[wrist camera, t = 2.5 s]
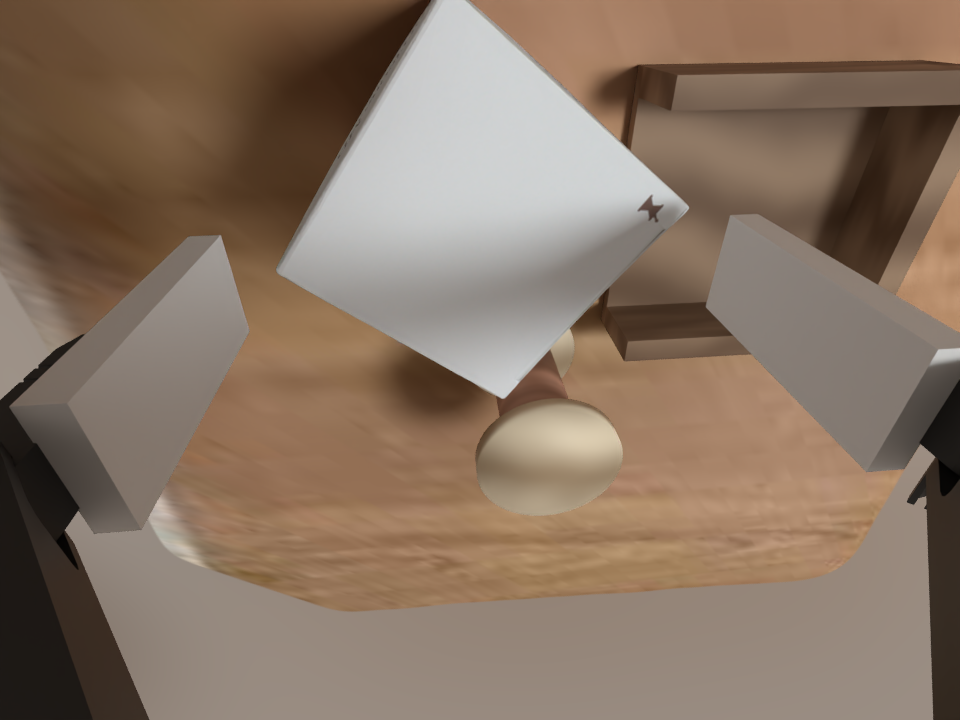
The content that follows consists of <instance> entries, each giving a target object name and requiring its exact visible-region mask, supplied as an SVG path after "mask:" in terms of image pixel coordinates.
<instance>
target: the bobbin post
mask: <svg viewBox="0 0 960 720" xmlns="http://www.w3.org/2000/svg"><path fill="white" fill-rule="evenodd" d="M574 347H575V346H574V339H573V335H572V333H571V330H570V328H569V329H568V330H567V331H566V333H565V334H564V335H563V336H562V337H561V338H560V339H559V340H558V341H557V342H556V343H555V344H554V345H553V346H552V347H551V348H550V350H549V351H548V352H547V353H546V354H545V355H544V356H543V357H542V358H541V359H540V360H539V362H538V363H537V364H536V365H535V366H534V367H533V368H532V369H531V370H530V371H529V372H528V374H527V375H526V376H525V377H524V378H523V379H522V380H521V381H520V382H519V383H518V385H517V386H516V387H515V388H514V389H513V390H512V391H511V392H510V393H509V395H508V396H507V397H506V398H504V399H501V398H500V397H498V396H496V395H495V396H496V398H497V404H498V410H499V415H500V417H499V418H498V419H497V420H495V421H494V422H493V423H492V424H491V425H490V426H489V427H488V429H487V430H486V431H485V432H484V434H483V435H482V437H481V439H480V441H479V443H478V446H477V450H476V457H475V461H476V470H477V479H478V482H479V486H480V488H481V489H482V491H483V493H484V494H485V495H486V497H487V498H488V499H490V500H491V501H492V502H493V503H494V504H496V505H497V506H499V507H501V508H503V509H505V510H508V511H511V512H514V513H518V514H523V515H533V516H542V515H553V514H558V513H563V512H566V511H570V510H573V509H575V508H578V507H580V506H582V505H584V504H586V503H588V502H590V501H592V500H593V499H595V498H596V497H598V496H599V495H600V494H602V493H603V492H604V491H605V490H606V489H607V488H608V487H609V486H610V485H611V483H612V482H613V481H614V479H615V478H616V476H617V474H618V472H619V470H620V467H621V464H622V459H623V450H622V445H621V442H620V440H619V437H618V435H617V433H616V431H615V428H614V426H613V424H612V423H611V421H610V420H609V418H608V417H607V416H606V415H605V414H604V413H603V412H601V411H600V410H598V409H597V408H595V407H593V406H591V405H589V404H587V403H584V402H581V401H577V400H572V399H568V396H567V393H566V391H565V388H564V385H563V382H562V380H561V378H562V377H563V376H564V375H565V373H566V372H567V370H568V369H569V367H570V365H571V363H572V360H573V356H574ZM477 386H478V385H477ZM479 387H480V386H479ZM480 388H481V389H483V390H484V391H486V392H488V393H490V394H492V395H494V394H493V393H491V392H489V391H487V390H485V389H484V388H482V387H480Z"/></svg>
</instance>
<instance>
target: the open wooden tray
mask: <svg viewBox="0 0 960 720" xmlns="http://www.w3.org/2000/svg"><path fill="white" fill-rule="evenodd" d="M626 147H627V148H628V149H629V150H630V151H631V152H632V153H633V154H634V155H635V156H636V157H638V158H639V159H640V160H641V161H642V162H643V163H644V164H645V165H646V166H647V167H648V168H649V169H650V170H651V171H652V172H653V173H654V174H655V175H656V176H658V177H659V178H660V179H661V180H662V181H663V182H664V183H665V184H666V185H667V186H668V187H669V188H670V189H671V190H673V191H674V192H675V193H676V194H677V195H678V196H679V197H680V198H681V199H682V200H683V201H684V202H685V203H686V204H687V205H688V206H689V209H688V211H687V212H686V213H685V214H684V215H683V216H682V217H681V218H680V219H679V220H678V221H676V222H675V223H674V224H673V225H672V226H671V227H670V228H669V229H668V230H667V231H666V232H665V233H663V234H662V235H661V236H660V237H659V238H658V239H657V240H656V241H655V242H654V243H653V244H652V245H651V246H650V247H649V248H648V249H647V250H646V251H645V252H644V253H643V254H642V255H641V256H640V257H639V258H638V259H637V260H636V261H635V262H634V263H633V264H632V265H631V266H630V267H629V268H628V269H627V270H626V271H625V272H624V273H623V274H622V275H621V276H620V277H619V278H618V279H617V280H616V281H615V282H614V283H613V284H612V285H611V286H610V287H609V288H608V289H607V290H606V291H605V296H604V302H603V309H602V316H601V321H602V323H603V324H604V326H605V328H606V330H607V331H608V333H609V335H610V337H611V339H612V340H613V342H614V344H615V346H616V347H617V349H618V351H619V353H620V355H621V356H622V358H623V360H624V361H640V360H658V359H676V358H693V357H711V356H729V355H747V354H751V353H750V352H749V351H748V350H747V349H746V348H745V347H744V346H743V345H742V344H741V343H740V342H739V341H738V340H737V339H736V338H735V337H734V336H733V335H732V334H731V333H730V332H729V331H728V329H727V328H726V327H725V326H724V325H723V324H722V323H721V322H720V321H719V320H718V319H717V318H716V317H715V316H714V315H713V314H712V313H711V312H710V311H709V310H708V309H707V308H706V303H707V300H708V296H709V292H710V289H711V285H712V281H713V277H714V274H715V270H716V266H717V263H718V259H719V255H720V251H721V248H722V244H723V240H724V237H725V233H726V229H727V226H728V222H729V218H730V215H745V214H759V215H760V216H762V217H764V218H765V219H767V220H769V221H771V222H772V223H774V224H776V225H777V226H779V227H781V228H782V229H784V230H786V231H787V232H789V233H791V234H793V235H794V236H796V237H798V238H799V239H801V240H803V241H804V242H806V243H808V244H810V245H811V246H813V247H815V248H816V249H818V250H820V251H821V252H823V253H825V254H826V255H828V256H830V257H832V258H833V259H835V260H837V261H838V262H840V263H842V264H843V265H845V266H847V267H848V268H850V269H852V270H854V271H855V272H857V273H859V274H860V275H862V276H864V277H865V278H867V279H869V280H871V281H872V282H874V283H876V284H877V285H879V286H881V287H882V288H884V289H886V290H887V291H889V292H891V293H893V294H894V295H896V293H897V291H898V289H899V287H900V285H901V283H902V282H903V280H904V278H905V276H906V274H907V272H908V270H909V268H910V266H911V264H912V262H913V260H914V258H915V256H916V254H917V252H918V250H919V248H920V246H921V244H922V242H923V240H924V238H925V236H926V234H927V232H928V230H929V228H930V226H931V224H932V222H933V220H934V218H935V216H936V214H937V212H938V210H939V209H940V207H941V205H942V203H943V201H944V199H945V197H946V195H947V193H948V191H949V189H950V187H951V185H952V183H953V181H954V179H955V177H956V175H957V173H958V171H959V169H960V64H952V63H943V62H933V61H924V60H912V61H848V62H785V63H721V64H657V65H638V71H637V78H636V85H635V91H634V98H633V105H632V112H631V119H630V125H629V132H628V139H627V146H626Z"/></svg>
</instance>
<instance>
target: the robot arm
mask: <svg viewBox="0 0 960 720" xmlns="http://www.w3.org/2000/svg"><path fill="white" fill-rule="evenodd" d="M706 308H707V309H708V310H709V311H710V312H711V313H712V314H713V315H714V316H715V317H716V318H717V319H718V320H719V321H720V322H721V323H722V324H723V325H724V326H725V327H726V328H727V329H728V331H729V332H730V333H731V334H732V335H733V336H734V337H735V338H736V339H737V340H738V341H739V342H740V343H741V344H742V345H743V346H744V347H745V348H746V349H747V350H748V351H749V352H750V353H751V354H752V355H753V356H754V357H755V358H756V359H757V360H758V361H759V362H760V363H761V364H762V365H763V366H764V367H765V368H766V370H767V371H768V372H769V373H770V374H771V375H772V376H773V377H774V378H775V379H776V380H777V381H778V382H779V383H780V384H781V385H782V386H783V387H784V388H785V389H786V390H787V391H788V392H789V393H790V394H791V395H792V396H793V397H794V398H795V399H796V400H797V401H798V402H799V403H800V404H801V405H802V406H803V407H804V409H805V410H806V411H807V412H808V413H809V414H810V415H811V416H812V417H813V418H814V419H815V420H816V421H817V422H818V423H819V424H820V425H821V426H822V427H823V428H824V429H825V430H826V431H827V432H828V433H829V434H830V435H831V436H832V437H833V438H834V439H835V440H836V441H837V442H838V443H839V444H840V445H841V446H842V447H843V449H844V450H845V451H846V452H847V453H848V454H849V455H850V456H851V457H852V458H853V459H854V460H855V461H856V462H857V463H858V464H859V465H860V466H861V467H862V468H863V469H864V470H865V471H866V472H873V471H886V470H898V469H905V467H906V466H907V464H908V462H909V461H910V459H911V458H912V456H913V455H914V453H915V452H916V450H917V448H918V447H919V445H920V444H921V445H922V446H924V447H925V448H926V449H927V450H928V451H929V452H931V453H932V454H933V455H934V456H935V459H934V461H933V462H932V463H931V465H930V466H929V468H928V469H927V471H926V472H925V473H924V475H923V477H922V478H921V479H920V481H919V483H918V484H917V486H916V487H915V488H914V490H913V491H912V493H911V494H910V496H909V498H908V500H907V502H908V503H910V504H915V502H916V501H917V499H918V498H921V497H925V496H926V498H927V505H926V506H925V508H924V509H927V530H928V563H929V591H930V592H929V595H930V626H931V658H932V690H933V720H960V333H959V332H957V331H955V330H954V329H952V328H950V327H948V326H947V325H945V324H943V323H942V322H940V321H938V320H937V319H935V318H933V317H932V316H930V315H928V314H926V313H925V312H923V311H921V310H920V309H918V308H916V307H915V306H913V305H911V304H910V303H908V302H906V301H904V300H903V299H901V298H899V297H898V296H896V295H894V294H893V293H891V292H889V291H887V290H886V289H884V288H882V287H881V286H879V285H877V284H876V283H874V282H872V281H871V280H869V279H867V278H865V277H864V276H862V275H860V274H859V273H857V272H855V271H854V270H852V269H850V268H848V267H847V266H845V265H843V264H842V263H840V262H838V261H837V260H835V259H833V258H832V257H830V256H828V255H826V254H825V253H823V252H821V251H820V250H818V249H816V248H815V247H813V246H811V245H810V244H808V243H806V242H804V241H803V240H801V239H799V238H798V237H796V236H794V235H793V234H791V233H789V232H787V231H786V230H784V229H782V228H781V227H779V226H777V225H776V224H774V223H772V222H771V221H769V220H767V219H765V218H764V217H762V216H760V215H759V214H745V215H730V218H729V222H728V226H727V229H726V233H725V237H724V240H723V244H722V248H721V251H720V255H719V259H718V263H717V266H716V270H715V274H714V277H713V281H712V285H711V289H710V292H709V296H708V300H707V303H706ZM248 333H249V327H248V324H247V321H246V317H245V314H244V311H243V307H242V304H241V301H240V297H239V294H238V291H237V287H236V284H235V281H234V277H233V274H232V271H231V267H230V264H229V261H228V257H227V254H226V251H225V247H224V244H223V241H222V238H221V235H211V236H188V237H187V238H186V239H185V240H184V241H183V242H182V243H181V244H180V245H179V246H178V247H177V248H176V249H175V250H174V251H173V252H172V253H171V254H169V255H168V256H167V257H166V258H165V259H164V260H163V261H162V262H161V263H160V264H159V265H158V266H157V267H156V268H155V269H154V270H153V271H152V272H151V273H149V274H148V275H147V276H146V277H145V278H144V279H143V280H142V281H141V282H140V283H139V284H138V285H137V286H136V287H135V288H134V289H133V290H132V291H130V292H129V293H128V294H127V295H126V296H125V297H124V298H123V299H122V300H121V301H120V302H119V303H118V304H117V305H116V306H115V307H114V308H113V309H111V310H110V311H109V312H108V313H107V314H106V315H105V316H104V317H103V318H102V319H101V320H100V321H99V322H98V323H97V324H96V325H95V326H94V327H93V328H91V329H90V330H89V331H88V332H87V333H86V334H83V335H81V336H79V337H77V338H75V339H73V340H72V341H70V342H68V343H66V344H64V345H63V346H61V347H59V348H57V349H56V350H55V351H53V352H52V353H51V354H50V355H49V356H48V357H47V358H46V359H45V360H44V361H43V362H42V363H40V364H39V368H38V369H34V370H33V371H32V372H30V373H29V374H28V375H27V376H26V377H25V378H24V382H21V383H19V384H18V385H16V386H15V387H14V388H13V389H12V390H11V391H10V392H9V393H8V394H6V395H5V396H4V397H3V398H2V399H1V400H0V720H149V718H148V716H147V713H146V711H145V709H144V707H143V704H142V702H141V699H140V697H139V694H138V692H137V690H136V688H135V685H134V683H133V681H132V678H131V676H130V673H129V671H128V669H127V666H126V664H125V662H124V659H123V657H122V655H121V652H120V650H119V648H118V645H117V643H116V641H115V638H114V636H113V633H112V631H111V629H110V626H109V624H108V622H107V619H106V617H105V615H104V613H103V610H102V608H101V605H100V603H99V601H98V598H97V596H96V594H95V591H94V589H93V587H92V584H91V582H90V580H89V577H88V575H87V573H86V570H85V568H84V566H83V563H82V561H81V558H80V556H79V554H78V551H77V549H76V547H75V544H74V543H73V541H72V540H71V539H70V537H69V536H68V534H67V533H66V531H65V529H66V527H67V526H68V525H69V523H70V522H71V520H72V519H73V517H74V516H75V514H76V513H77V511H79V512H80V514H81V515H82V516H83V518H84V519H85V521H86V522H87V524H88V525H89V527H90V528H91V530H92V531H93V533H94V534H97V533H110V532H122V531H134V530H142V528H143V526H144V524H145V522H146V521H147V519H148V517H149V515H150V513H151V511H152V510H153V508H154V506H155V504H156V502H157V500H158V499H159V497H160V495H161V493H162V491H163V489H164V488H165V486H166V484H167V482H168V480H169V478H170V477H171V475H172V473H173V471H174V469H175V467H176V466H177V464H178V462H179V460H180V458H181V456H182V455H183V453H184V451H185V449H186V447H187V445H188V443H189V442H190V440H191V438H192V436H193V434H194V432H195V431H196V429H197V427H198V425H199V423H200V421H201V420H202V418H203V416H204V414H205V412H206V410H207V409H208V407H209V405H210V403H211V401H212V399H213V398H214V396H215V394H216V392H217V390H218V388H219V387H220V385H221V383H222V381H223V379H224V377H225V376H226V374H227V372H228V370H229V368H230V366H231V365H232V363H233V361H234V359H235V357H236V355H237V353H238V352H239V350H240V348H241V346H242V344H243V342H244V341H245V339H246V337H247V335H248Z"/></svg>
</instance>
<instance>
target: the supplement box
mask: <svg viewBox="0 0 960 720" xmlns="http://www.w3.org/2000/svg"><path fill="white" fill-rule="evenodd" d="M688 209H689V206H688V205H687V204H686V203H685V202H684V201H683V200H682V199H681V198H680V197H679V196H678V195H677V194H676V193H675V192H674V191H673V190H671V189H670V188H669V187H668V186H667V185H666V184H665V183H664V182H663V181H662V180H661V179H660V178H659V177H658V176H656V175H655V174H654V173H653V172H652V171H651V170H650V169H649V168H648V167H647V166H646V165H645V164H644V163H643V162H642V161H641V160H640V159H639V158H638V157H636V156H635V155H634V154H633V153H632V152H631V151H630V150H629V149H628V148H627V147H626V146H625V145H624V144H623V143H622V142H620V141H619V140H618V139H617V138H616V137H615V136H614V135H613V134H612V133H611V132H610V131H609V130H608V129H607V128H606V127H605V126H604V125H603V124H602V123H601V122H600V121H599V120H598V119H596V118H595V117H594V116H593V115H592V114H591V113H590V112H589V111H588V110H587V109H586V108H585V107H584V106H583V105H582V104H581V103H580V102H579V101H578V100H577V99H576V98H575V97H574V96H573V95H572V94H571V93H570V92H569V91H568V90H567V89H566V88H565V87H564V86H563V85H562V84H561V83H560V82H558V81H557V80H556V79H555V78H554V77H553V76H552V75H551V74H550V73H549V72H548V71H547V70H546V69H545V68H543V67H542V66H541V65H540V64H539V63H538V62H537V61H536V60H535V59H534V58H533V57H532V56H531V55H530V54H528V53H527V52H526V51H525V50H524V49H523V48H522V47H521V46H520V45H519V44H518V43H517V42H516V41H515V40H513V39H512V38H511V37H510V36H509V35H508V34H507V33H506V32H505V31H503V30H502V29H501V28H500V27H499V26H498V25H497V24H495V23H494V22H493V21H492V20H491V19H490V18H489V17H487V16H486V15H485V14H484V13H483V12H482V11H481V10H479V9H478V8H477V7H476V6H475V5H474V4H473V3H471V2H470V1H469V0H431V1H430V3H429V4H428V6H427V7H426V9H425V10H424V12H423V13H422V15H421V16H420V18H419V19H418V20H417V22H416V23H415V25H414V26H413V28H412V29H411V31H410V33H409V34H408V36H407V37H406V39H405V41H404V42H403V44H402V45H401V47H400V48H399V50H398V52H397V53H396V55H395V57H394V58H393V60H392V62H391V63H390V65H389V67H388V68H387V70H386V72H385V73H384V75H383V77H382V78H381V80H380V82H379V83H378V85H377V87H376V89H375V90H374V92H373V94H372V96H371V97H370V99H369V101H368V102H367V104H366V106H365V108H364V109H363V111H362V113H361V115H360V116H359V118H358V120H357V122H356V123H355V125H354V127H353V128H352V130H351V132H350V134H349V135H348V137H347V139H346V141H345V142H344V144H343V146H342V148H341V150H340V151H339V153H338V155H337V157H336V158H335V160H334V162H333V164H332V166H331V167H330V169H329V171H328V173H327V175H326V176H325V178H324V180H323V182H322V184H321V186H320V187H319V189H318V191H317V193H316V195H315V197H314V198H313V200H312V202H311V204H310V206H309V208H308V209H307V211H306V213H305V215H304V217H303V219H302V221H301V223H300V224H299V226H298V228H297V230H296V232H295V234H294V236H293V237H292V239H291V241H290V243H289V245H288V247H287V249H286V251H285V252H284V254H283V256H282V258H281V260H280V262H279V264H278V265H277V267H276V271H277V273H278V274H279V275H281V276H283V277H284V278H286V279H288V280H289V281H291V282H293V283H295V284H296V285H298V286H300V287H301V288H303V289H305V290H307V291H309V292H310V293H312V294H314V295H316V296H317V297H319V298H321V299H323V300H324V301H326V302H328V303H330V304H332V305H333V306H335V307H337V308H339V309H341V310H343V311H344V312H346V313H348V314H350V315H352V316H354V317H356V318H357V319H359V320H361V321H363V322H365V323H367V324H368V325H370V326H372V327H374V328H376V329H377V330H379V331H381V332H383V333H385V334H386V335H388V336H390V337H392V338H394V339H395V340H397V341H399V342H401V343H403V344H404V345H406V346H408V347H410V348H411V349H413V350H415V351H417V352H419V353H420V354H422V355H424V356H426V357H427V358H429V359H431V360H433V361H435V362H436V363H438V364H440V365H442V366H443V367H445V368H447V369H449V370H451V371H452V372H454V373H456V374H458V375H460V376H462V377H463V378H465V379H467V380H469V381H471V382H473V383H474V384H476V385H478V386H480V387H482V388H484V389H485V390H487V391H489V392H491V393H493V394H494V395H496V396H498V397H500V398H501V399H504V398H506V397H507V396H508V395H509V393H510V392H511V391H512V390H513V389H514V388H515V387H516V386H517V385H518V383H519V382H520V381H521V380H522V379H523V378H524V377H525V376H526V375H527V374H528V372H529V371H530V370H531V369H532V368H533V367H534V366H535V365H536V364H537V363H538V362H539V360H540V359H541V358H542V357H543V356H544V355H545V354H546V353H547V352H548V351H549V350H550V348H551V347H552V346H553V345H554V344H555V343H556V342H557V341H558V340H559V339H560V338H561V337H562V336H563V335H564V334H565V333H566V331H567V330H568V329H569V328H570V327H571V326H572V325H573V324H574V323H575V322H576V321H577V320H578V319H579V318H580V317H581V316H582V315H583V314H584V313H585V312H586V311H587V309H588V308H589V307H590V306H591V305H592V304H593V303H594V302H595V301H596V300H597V299H598V298H599V297H600V296H601V295H602V294H603V293H604V292H605V291H606V290H607V289H608V288H609V287H610V286H611V285H612V284H613V283H614V282H615V281H616V280H617V279H618V278H619V277H620V276H621V275H622V274H623V273H624V272H625V271H626V270H627V269H628V268H629V267H630V266H631V265H632V264H633V263H634V262H635V261H636V260H637V259H638V258H639V257H640V256H641V255H642V254H643V253H644V252H645V251H646V250H647V249H648V248H649V247H650V246H651V245H652V244H653V243H654V242H655V241H656V240H657V239H658V238H659V237H660V236H661V235H662V234H663V233H665V232H666V231H667V230H668V229H669V228H670V227H671V226H672V225H673V224H674V223H675V222H676V221H678V220H679V219H680V218H681V217H682V216H683V215H684V214H685V213H686V212H687V211H688Z"/></svg>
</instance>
